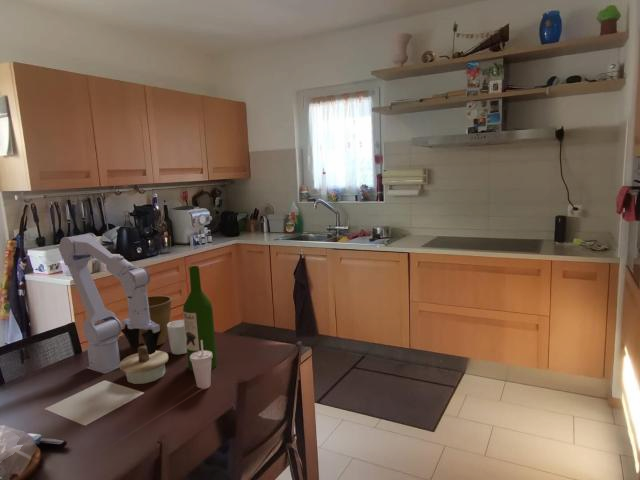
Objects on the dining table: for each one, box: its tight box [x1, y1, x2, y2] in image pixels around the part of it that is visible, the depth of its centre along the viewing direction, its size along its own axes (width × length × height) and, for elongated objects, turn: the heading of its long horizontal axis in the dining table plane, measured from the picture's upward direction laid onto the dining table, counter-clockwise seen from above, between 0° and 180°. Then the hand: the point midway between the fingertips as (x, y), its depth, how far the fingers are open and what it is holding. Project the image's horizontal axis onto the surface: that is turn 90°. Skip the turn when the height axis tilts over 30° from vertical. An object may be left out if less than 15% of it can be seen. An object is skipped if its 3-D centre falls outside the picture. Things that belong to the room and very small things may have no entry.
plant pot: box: [139, 295, 172, 347], centre depth 165 cm, size 15×15×16 cm
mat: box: [44, 379, 145, 426], centre depth 125 cm, size 18×18×1 cm
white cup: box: [167, 319, 187, 355], centre depth 158 cm, size 8×8×10 cm
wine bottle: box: [182, 265, 218, 372], centre depth 143 cm, size 9×9×32 cm
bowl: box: [125, 363, 166, 385], centre depth 139 cm, size 11×11×5 cm
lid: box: [119, 345, 169, 373], centre depth 138 cm, size 14×14×5 cm
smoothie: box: [190, 340, 213, 390], centre depth 131 cm, size 6×6×14 cm
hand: (143, 351), depth 138 cm, fingers open, 7 cm apart
